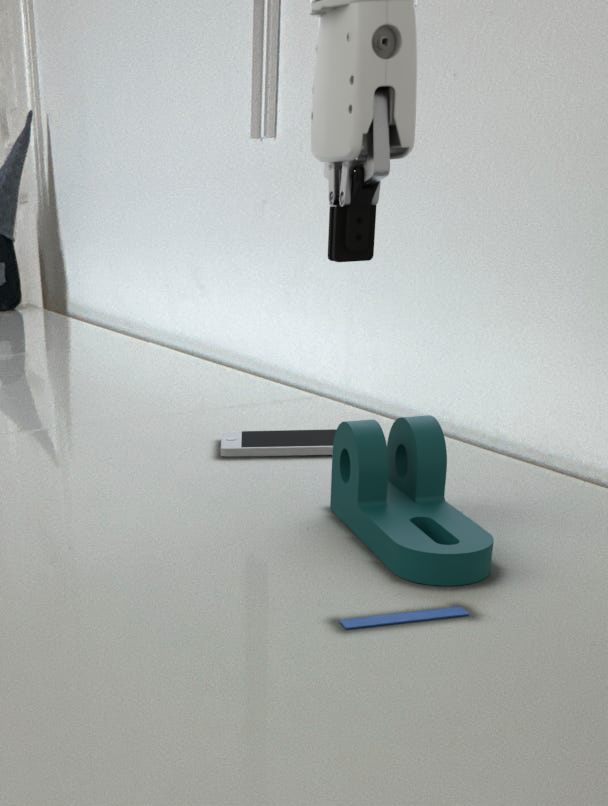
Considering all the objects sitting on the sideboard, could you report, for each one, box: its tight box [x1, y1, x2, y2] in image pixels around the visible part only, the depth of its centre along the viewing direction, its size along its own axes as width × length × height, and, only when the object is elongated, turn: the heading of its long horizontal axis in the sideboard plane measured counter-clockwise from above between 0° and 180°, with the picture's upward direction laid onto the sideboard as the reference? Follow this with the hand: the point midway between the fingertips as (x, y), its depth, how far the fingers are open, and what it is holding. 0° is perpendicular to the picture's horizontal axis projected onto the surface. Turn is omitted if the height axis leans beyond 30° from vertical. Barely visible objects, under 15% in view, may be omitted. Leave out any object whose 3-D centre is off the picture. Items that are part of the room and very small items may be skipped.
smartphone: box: [220, 428, 337, 457], centre depth 100 cm, size 7×16×1 cm, turn 84°
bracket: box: [329, 415, 495, 587], centre depth 73 cm, size 18×7×8 cm, turn 6°
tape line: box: [338, 605, 470, 630], centre depth 62 cm, size 8×1×1 cm, turn 99°
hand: (350, 260), depth 79 cm, fingers closed
